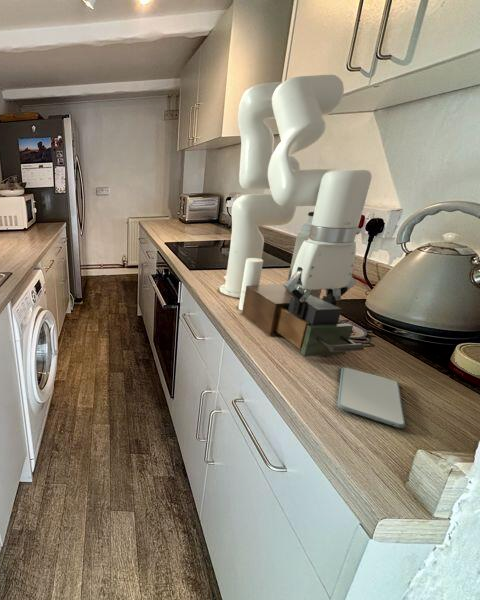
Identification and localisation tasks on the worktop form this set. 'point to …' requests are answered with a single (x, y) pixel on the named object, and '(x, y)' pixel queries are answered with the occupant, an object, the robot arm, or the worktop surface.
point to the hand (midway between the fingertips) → (311, 315)
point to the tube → (250, 276)
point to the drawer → (315, 335)
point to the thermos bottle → (299, 241)
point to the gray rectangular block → (319, 311)
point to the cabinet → (265, 305)
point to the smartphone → (371, 397)
